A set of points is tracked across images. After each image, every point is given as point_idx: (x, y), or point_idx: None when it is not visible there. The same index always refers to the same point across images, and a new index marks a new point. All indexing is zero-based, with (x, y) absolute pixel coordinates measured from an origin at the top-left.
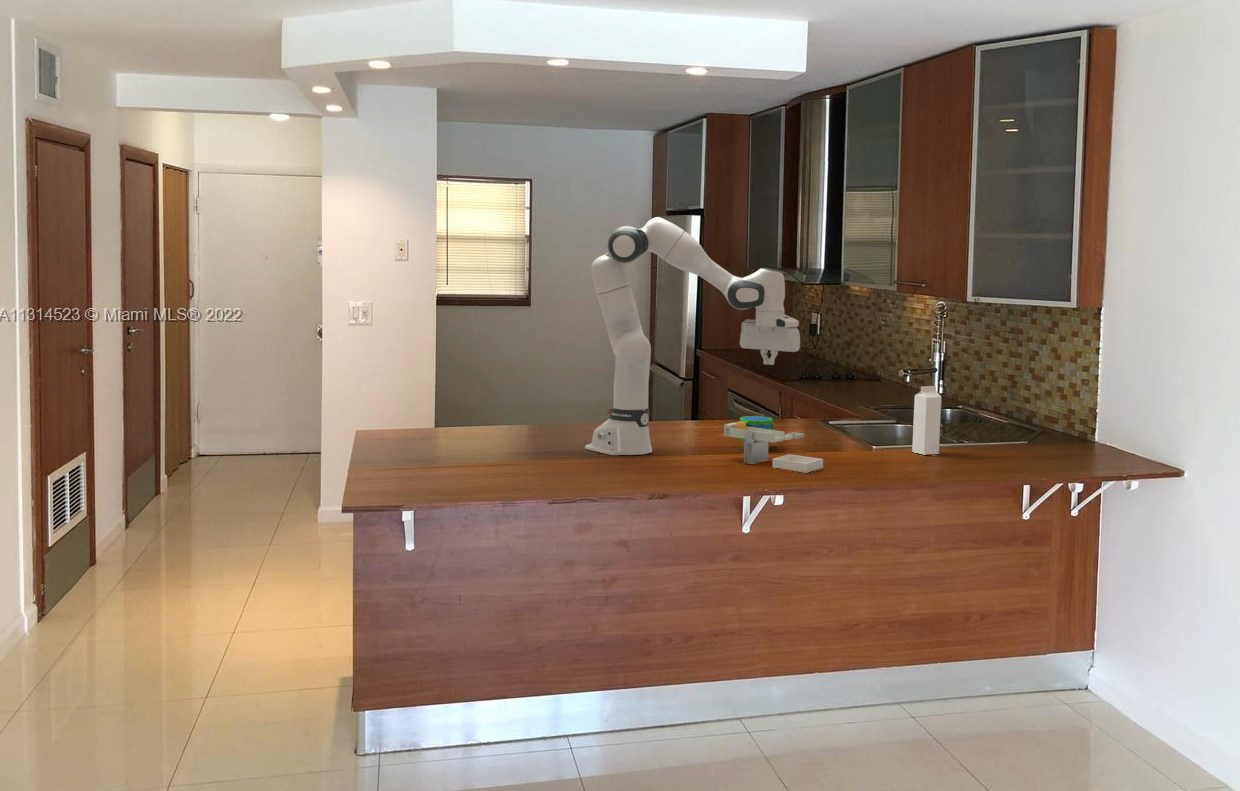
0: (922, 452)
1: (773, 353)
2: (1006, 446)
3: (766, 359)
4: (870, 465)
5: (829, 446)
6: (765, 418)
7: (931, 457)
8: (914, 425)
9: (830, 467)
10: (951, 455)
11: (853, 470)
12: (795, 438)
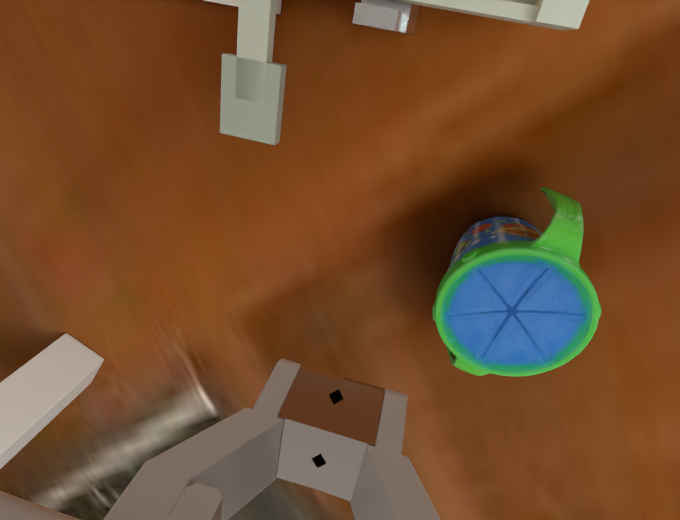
0: (64, 340)
1: (154, 478)
2: (29, 473)
3: (347, 430)
4: (80, 148)
5: None
6: (476, 349)
7: (48, 325)
8: (43, 407)
9: (142, 39)
10: None
11: (67, 31)
12: (232, 54)
